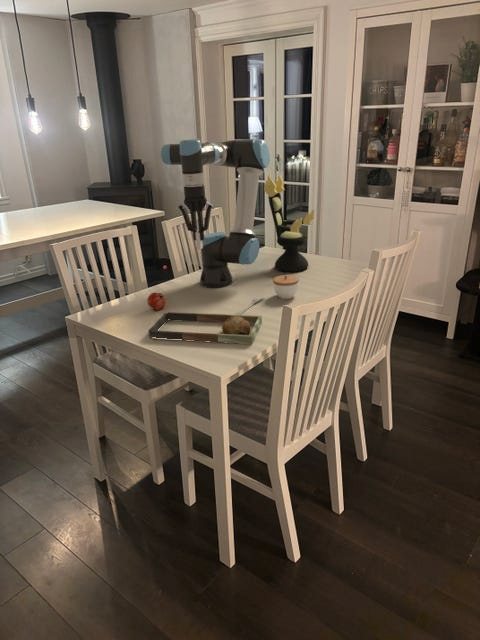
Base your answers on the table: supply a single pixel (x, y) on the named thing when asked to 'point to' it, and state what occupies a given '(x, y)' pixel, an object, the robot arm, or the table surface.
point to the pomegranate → (156, 301)
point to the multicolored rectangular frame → (205, 336)
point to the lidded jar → (285, 286)
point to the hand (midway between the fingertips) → (199, 248)
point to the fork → (248, 306)
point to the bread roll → (236, 326)
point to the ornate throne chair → (287, 230)
